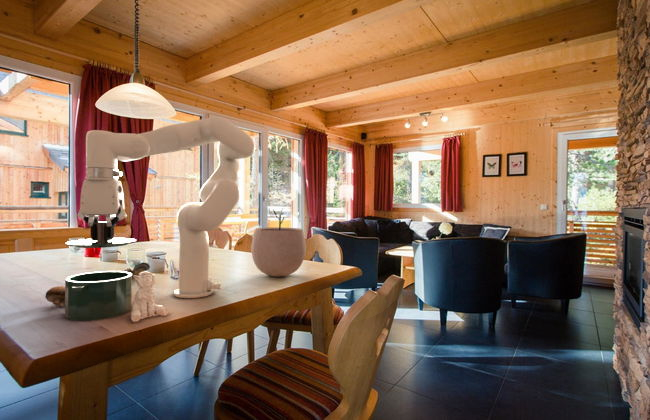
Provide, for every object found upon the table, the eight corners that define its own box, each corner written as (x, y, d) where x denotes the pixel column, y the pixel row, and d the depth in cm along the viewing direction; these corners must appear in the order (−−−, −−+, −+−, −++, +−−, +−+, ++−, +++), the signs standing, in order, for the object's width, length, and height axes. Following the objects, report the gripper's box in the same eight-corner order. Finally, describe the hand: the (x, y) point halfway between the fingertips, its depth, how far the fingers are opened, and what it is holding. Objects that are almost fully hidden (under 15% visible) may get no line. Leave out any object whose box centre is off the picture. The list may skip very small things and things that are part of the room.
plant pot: (314, 273, 161) (315, 208, 161) (288, 283, 139) (289, 208, 139) (270, 268, 171) (271, 207, 171) (239, 277, 149) (240, 207, 149)
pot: (144, 301, 110) (145, 269, 110) (108, 324, 89) (108, 284, 89) (92, 301, 109) (93, 269, 109) (43, 324, 88) (44, 284, 88)
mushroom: (56, 300, 98) (61, 279, 101) (34, 308, 99) (40, 288, 103) (82, 307, 104) (86, 287, 108) (61, 315, 106) (66, 295, 109)
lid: (145, 241, 108) (145, 220, 108) (117, 249, 91) (117, 223, 91) (89, 241, 107) (89, 220, 107) (50, 248, 90) (50, 223, 90)
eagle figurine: (146, 278, 137) (154, 270, 146) (134, 264, 136) (144, 256, 145) (129, 288, 138) (139, 279, 146) (118, 274, 136) (128, 266, 145)
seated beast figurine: (132, 323, 90) (133, 276, 90) (119, 315, 95) (120, 272, 95) (168, 315, 97) (169, 272, 97) (155, 308, 103) (155, 267, 102)
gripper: (138, 176, 103) (138, 239, 103) (80, 175, 102) (80, 238, 102) (125, 174, 95) (125, 241, 96) (62, 173, 94) (63, 241, 95)
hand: (102, 239), depth 99 cm, fingers closed on lid, 2 cm apart
